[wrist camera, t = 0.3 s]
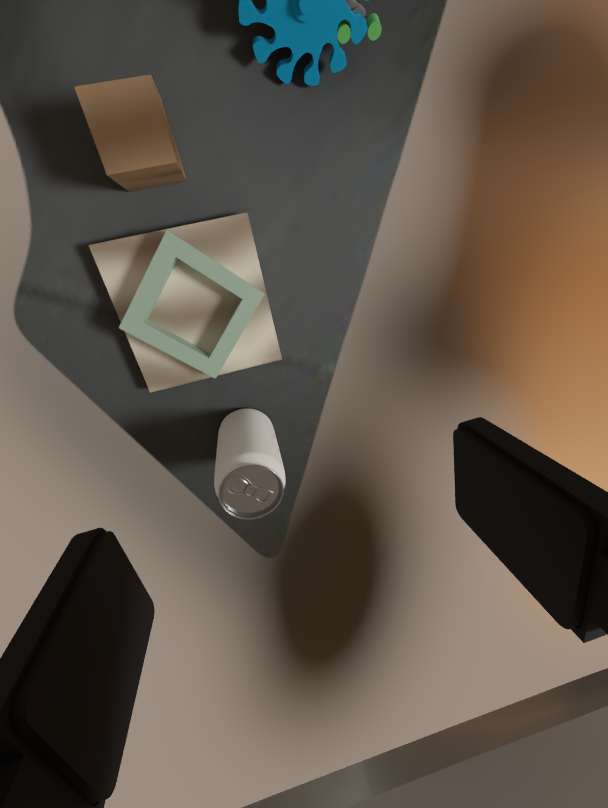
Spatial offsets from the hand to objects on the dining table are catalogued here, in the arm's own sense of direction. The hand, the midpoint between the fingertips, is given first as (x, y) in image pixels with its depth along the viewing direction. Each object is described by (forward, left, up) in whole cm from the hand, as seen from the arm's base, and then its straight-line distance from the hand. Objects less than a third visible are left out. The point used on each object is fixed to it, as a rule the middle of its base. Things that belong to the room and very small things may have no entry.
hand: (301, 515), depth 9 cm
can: (+11, -3, -30) cm, 32 cm away
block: (-17, -4, -30) cm, 34 cm away
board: (-4, -4, -30) cm, 30 cm away
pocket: (-4, -5, -28) cm, 29 cm away
